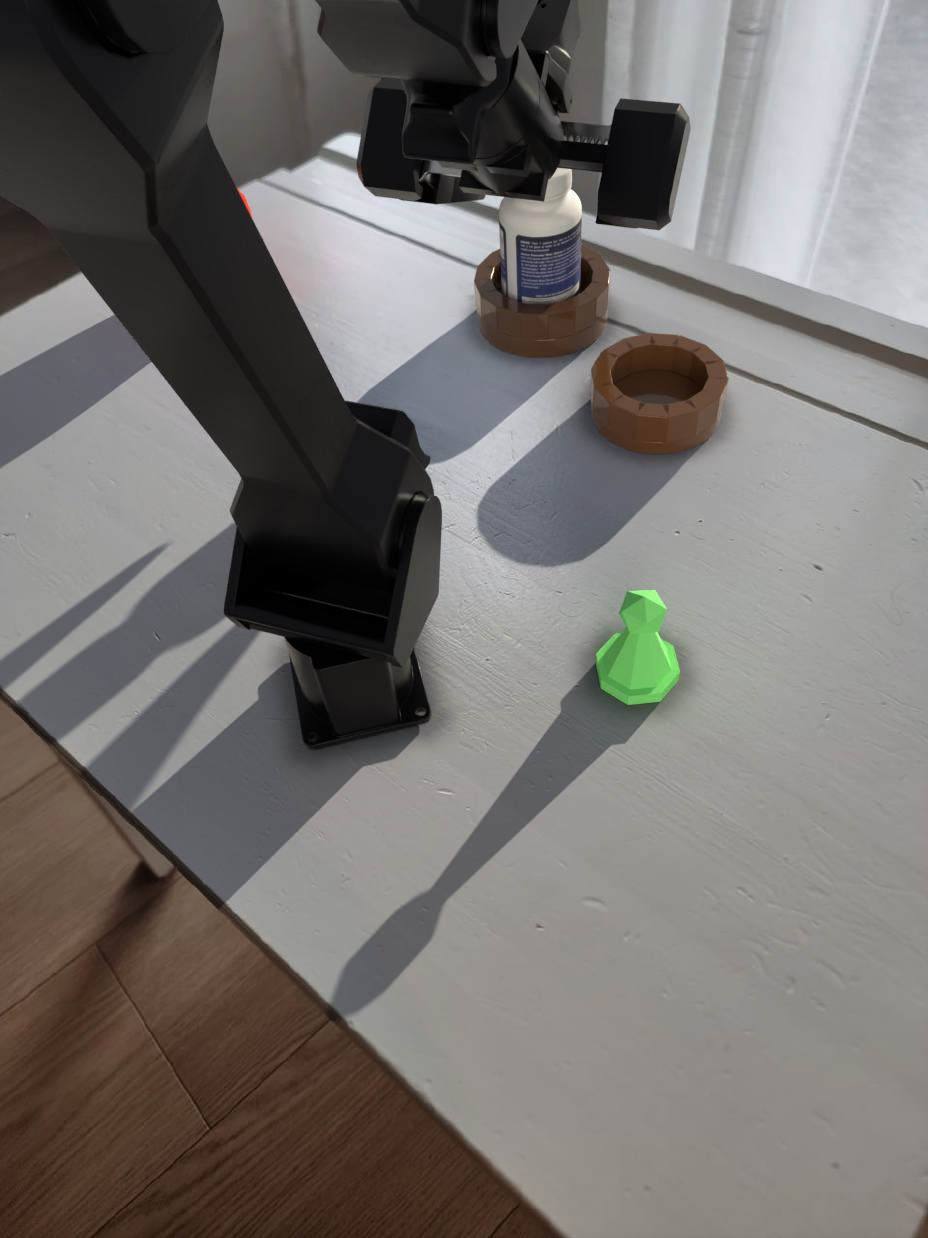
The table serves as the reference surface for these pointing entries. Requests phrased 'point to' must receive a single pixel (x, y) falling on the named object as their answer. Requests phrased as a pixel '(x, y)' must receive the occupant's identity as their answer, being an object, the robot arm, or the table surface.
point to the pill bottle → (542, 244)
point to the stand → (543, 312)
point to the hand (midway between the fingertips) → (547, 198)
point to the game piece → (638, 653)
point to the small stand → (657, 393)
